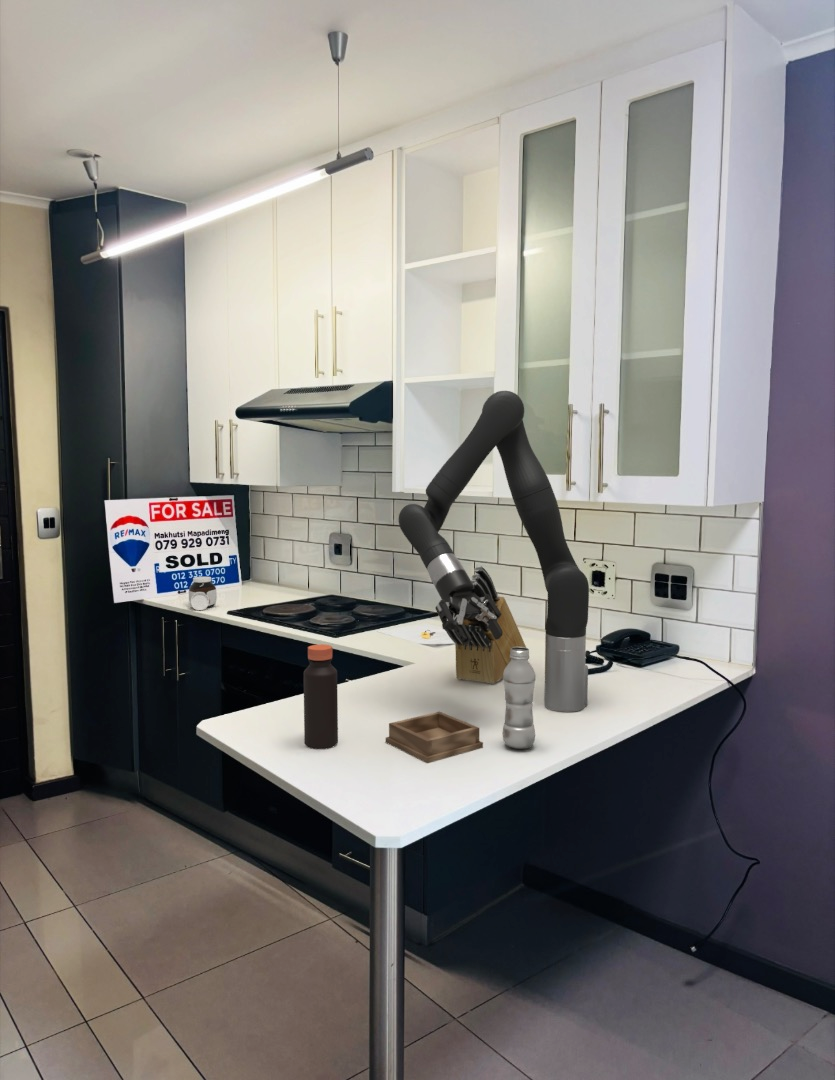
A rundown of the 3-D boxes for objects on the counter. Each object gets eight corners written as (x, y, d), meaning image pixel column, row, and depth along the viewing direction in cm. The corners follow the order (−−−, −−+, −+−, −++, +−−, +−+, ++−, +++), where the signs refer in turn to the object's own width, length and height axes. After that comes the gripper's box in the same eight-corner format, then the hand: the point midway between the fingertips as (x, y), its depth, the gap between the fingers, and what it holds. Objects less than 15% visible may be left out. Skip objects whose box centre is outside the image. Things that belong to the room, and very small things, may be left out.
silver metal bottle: (518, 755, 157) (519, 654, 155) (495, 745, 162) (496, 648, 160) (542, 748, 161) (543, 650, 159) (518, 738, 166) (520, 643, 164)
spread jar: (210, 604, 320) (209, 575, 319) (223, 608, 312) (222, 578, 310) (181, 608, 313) (180, 578, 311) (194, 612, 304) (193, 581, 303)
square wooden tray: (439, 728, 172) (439, 710, 172) (482, 747, 161) (483, 728, 161) (385, 742, 164) (385, 723, 164) (427, 763, 153) (427, 742, 153)
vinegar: (321, 735, 168) (320, 641, 166) (345, 743, 164) (344, 646, 162) (297, 744, 163) (295, 647, 161) (320, 752, 158) (319, 652, 156)
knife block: (437, 689, 202) (438, 567, 199) (492, 658, 233) (493, 552, 230) (479, 695, 197) (480, 569, 194) (529, 663, 228) (530, 554, 225)
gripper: (431, 571, 170) (466, 634, 162) (483, 565, 178) (518, 625, 170) (416, 592, 174) (449, 654, 166) (467, 586, 183) (501, 645, 175)
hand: (484, 639), depth 168 cm, fingers open, 8 cm apart
